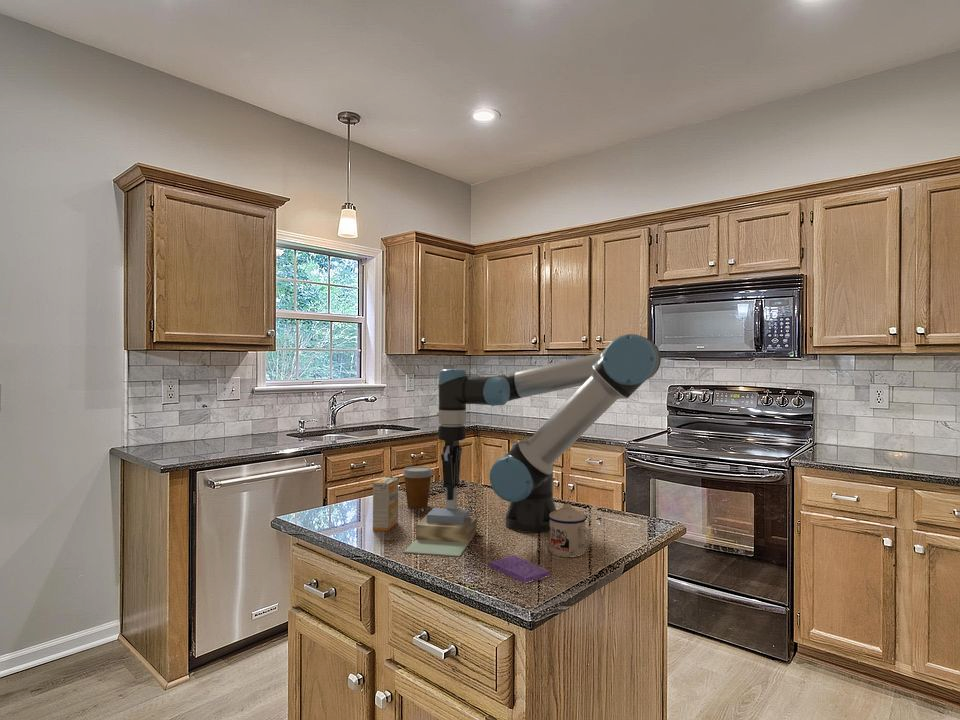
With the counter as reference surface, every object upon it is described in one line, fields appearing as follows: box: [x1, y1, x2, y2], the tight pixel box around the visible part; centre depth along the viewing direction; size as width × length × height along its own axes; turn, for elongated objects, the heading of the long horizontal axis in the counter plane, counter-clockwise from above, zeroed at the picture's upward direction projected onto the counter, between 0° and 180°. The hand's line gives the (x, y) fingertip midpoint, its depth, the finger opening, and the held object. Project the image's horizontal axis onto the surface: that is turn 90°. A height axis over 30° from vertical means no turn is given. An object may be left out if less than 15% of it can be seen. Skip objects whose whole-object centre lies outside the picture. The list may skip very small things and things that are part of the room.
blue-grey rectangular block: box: [426, 507, 470, 525], centre depth 154 cm, size 10×7×2 cm
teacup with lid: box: [549, 503, 593, 558], centre depth 140 cm, size 12×9×12 cm
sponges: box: [490, 554, 550, 584], centre depth 128 cm, size 7×13×2 cm, turn 35°
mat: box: [403, 538, 470, 558], centre depth 143 cm, size 14×10×1 cm
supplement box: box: [372, 477, 399, 532], centre depth 162 cm, size 8×5×13 cm, turn 168°
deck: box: [415, 514, 478, 544], centre depth 153 cm, size 14×10×4 cm
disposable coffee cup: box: [402, 465, 433, 510], centre depth 184 cm, size 10×10×12 cm
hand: (451, 510), depth 159 cm, fingers closed
